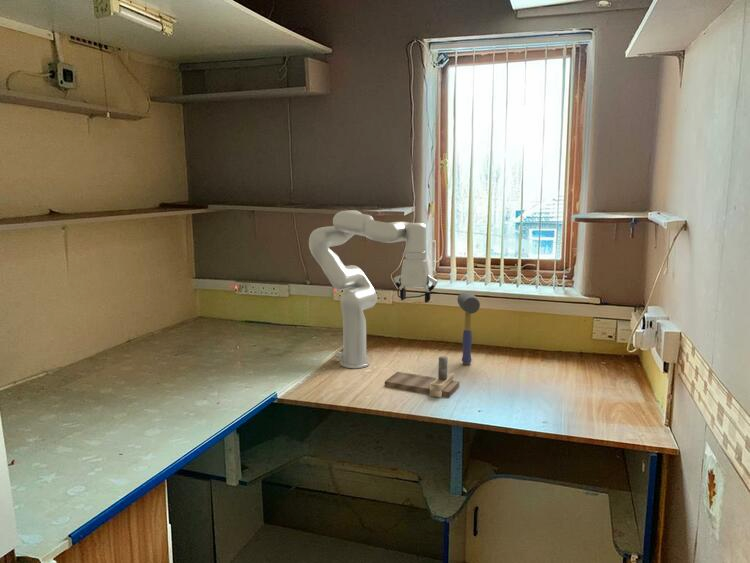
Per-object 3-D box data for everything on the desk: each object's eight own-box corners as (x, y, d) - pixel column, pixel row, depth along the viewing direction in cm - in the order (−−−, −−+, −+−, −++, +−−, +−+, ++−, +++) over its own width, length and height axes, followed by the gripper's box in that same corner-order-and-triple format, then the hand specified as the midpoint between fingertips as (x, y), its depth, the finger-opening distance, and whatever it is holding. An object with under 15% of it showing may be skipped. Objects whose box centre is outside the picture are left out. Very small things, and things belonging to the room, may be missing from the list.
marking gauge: (429, 395, 203) (430, 363, 201) (443, 382, 217) (444, 351, 214) (440, 397, 201) (441, 364, 199) (453, 383, 215) (454, 353, 213)
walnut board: (384, 386, 213) (384, 381, 212) (397, 376, 224) (397, 371, 223) (449, 397, 202) (449, 391, 202) (459, 386, 213) (459, 381, 213)
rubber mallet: (479, 368, 233) (481, 296, 227) (460, 369, 232) (462, 296, 227) (471, 359, 245) (474, 290, 240) (454, 359, 245) (456, 290, 239)
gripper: (390, 256, 215) (390, 300, 218) (434, 258, 208) (433, 304, 211) (398, 253, 222) (398, 297, 225) (440, 256, 214) (439, 301, 217)
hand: (415, 300), depth 218 cm, fingers open, 9 cm apart
